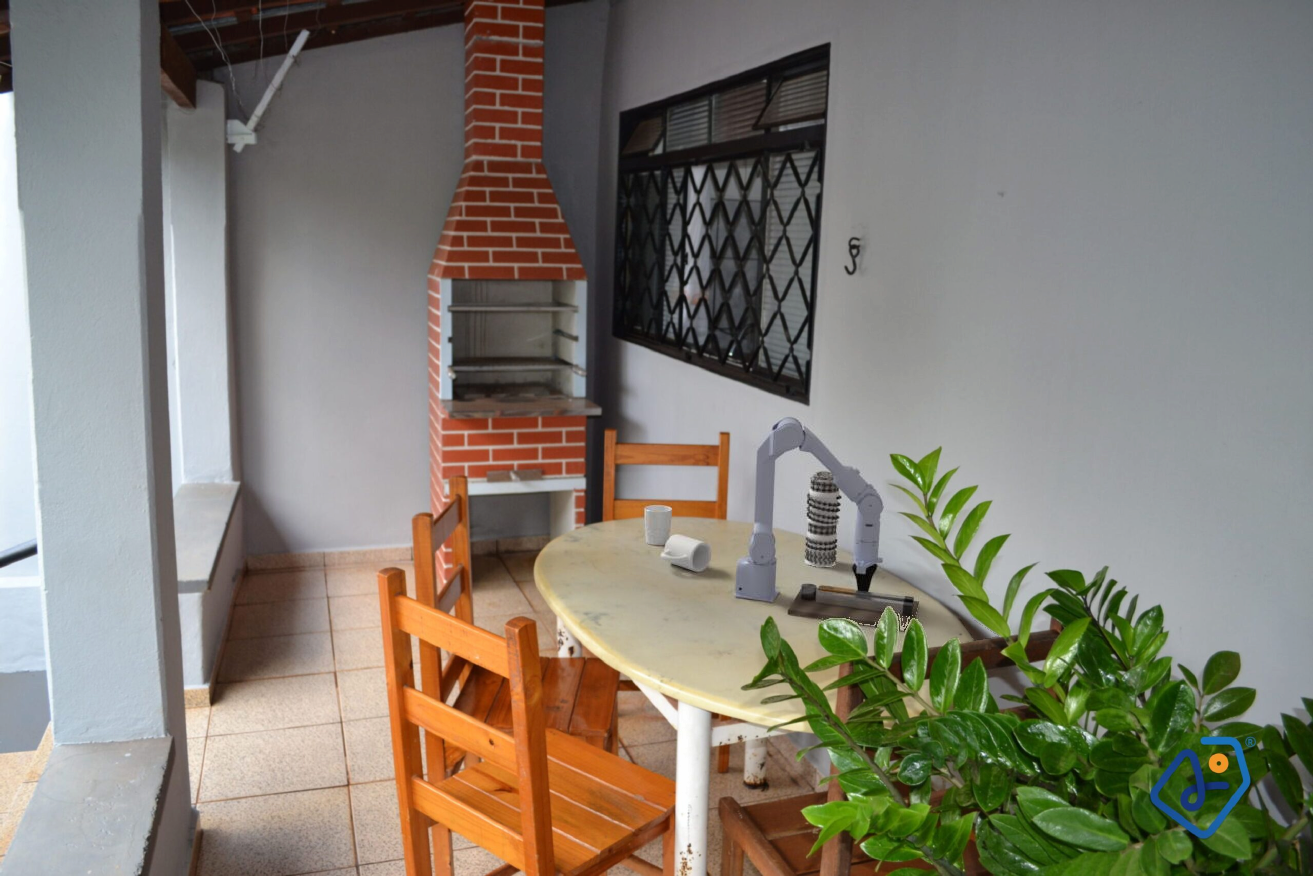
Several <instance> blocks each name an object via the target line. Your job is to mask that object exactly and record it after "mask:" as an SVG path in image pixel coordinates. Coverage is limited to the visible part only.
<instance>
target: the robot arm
mask: <svg viewBox="0 0 1313 876" xmlns="http://www.w3.org/2000/svg"><path fill="white" fill-rule="evenodd" d="M802 425H803V424H802V423H801V422H800V420H799V419H797V418H796V417H793V416H786V417H784V418H782V419H780V420H778V421H777V422H775V423H774V424H773V425H772V427H771V428H770V430H769V431H768V432H767V434H766V435H765V437H764V438H763V439H762V441H761V442H760V444H759V445H758V446H757V449H756V467H755V469H756V470H755V491H754V493H755V494H754V495H755V496H754V518H753V532H752V533H751V535H750V537H749V547H748V555H746V556H747V557H739V559H738V560H737V565H736V571H735V590H734V597H736V598H742V599H747V600H748V599H749V600H756V601H763V602H769V603H770V602H771V603H773V602H774V601H775V599H776V598H777V596H778V595H779V594H780V590H779V589H776V580H777V579H776V578H777V562H778V561H777V560H778V559H777V557H776V553H777V550H776V537H775V535H774V533H773V521H774V518H773V517H774V500H775V499H774V498H775V473H776V472H775V471H776V470H775V469H776V460H777V459H778V458H780V457H781V456H782V455H783V454H785V453H787V452H790V451H793V450H795V449H797V448H799V449H798V450H799V452H805V453H810V454H812V456H813V457H815V459H817V461H819V462H820V463H821V464H822V465H823V466H824V467H825V468H826V469H827V470H828V472H831V473H832V474H833V475H834V479H833V482H834V484H835V485H836V486H837V487H838V488H839V491H841V492H842V493H843V494H844V495H845V496H846V497H847V499H849V501H850V502H852V503H855V505H856V507H857V511H856V513H857V514H856V519H855V527H854V528H855V529H854V542H853V543H854V544H853V555H852V561H853V564H852V566H851V570H852V572H853V574H854V577H855V580H856V587H857V589H856V590H858V591H866V592H870V588H871V584H872V579H873V578H874V577H873V576H874V574H875V573H876V571H877V570H878V567H879V565H878V564H882V563H883V560H884V559H883V558H882V557H879V546H880V532H881V520H880V519H881V514H882V513H883V511H884V503H883V500H882V497H881V496H880V493H879V492H878V491H877V488H875V487H874V485H873V484H872V483H868V482H867V481H866V480H865V479H864V478H863V477H862V476H861V471H860V470H859V469H858V468H857V467H856V468H854V467H853V466H851V465H844V464H842V463H841V461H839V460H838V458H837V457H836V456H835V455H834V454H833V453H832V452H831V450H830V449H829V448H828V447H827V446H826V444H824V443H823V442H822V441H821V439H819V437H818V436H817V435H816V434H815V433H814V432H812V431H811V430H810V429H809V428H808V427H807V426H805V425H803V426H802Z"/></svg>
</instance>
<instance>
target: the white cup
mask: <svg viewBox="0 0 1313 876" xmlns="http://www.w3.org/2000/svg"><path fill="white" fill-rule="evenodd" d="M672 514H673V508H672V507H670V506H668V505H663V504H662V505H661V504H656V505H655V504H653V505H652V504H651V505H647V506H645V507H644V533H645V543H646V544H648V545H651V546H652V545H653V546H665V544H666V542H667V540H668V539H669V538H670V534H671V525H672Z"/></svg>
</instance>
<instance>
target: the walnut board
mask: <svg viewBox="0 0 1313 876" xmlns="http://www.w3.org/2000/svg"><path fill="white" fill-rule="evenodd" d="M818 588H819V587H817V588H816V592H817V591H818ZM919 604H920V601H918V600H914V602H913V611H912V615H913V616H910V619H908V624H909V622H910V620H911V619H912V618H915V619H916V618H917V614H916V612H917V613H918V611H917V608H918V609H919V607H918V605H919ZM882 613H883V612H879V611H872V610H865V609H858V608H851V607H844V606H837V605H830V604H823V603H816V599H813V600H806V599H803V598H801V589H800V590H799V592H798V593H797V595H796V596H795V598H794V599H793V601H792V602H791V604H790V606H789V607H788V608H787V615H790V616H798V617H805V618H812V619H817V620H825V621H827V620H826V619H829V618H846V619H850V620H853V621H855V622H857V623H858V624H859V623H862V624H863V625H862V626H864V624H870V625H874V624H875V622H876V625H875V627H874V628H878V627H877V624H878V621H879V619H880V618H881V615H882ZM915 615H916V616H915ZM897 616H898V621H899V632H901V631H900V620H899V615H898V614H897ZM902 616H903V617H902ZM849 617H850V618H849ZM908 617H909V616H907V617H906V615H900V618H901V626H902V625H903V623H904V626H903V627H905V624H906V622H907V618H908ZM822 618H823V619H822ZM902 618H903V621H902ZM859 626H861V625H860V624H859ZM907 626H908V625H907ZM907 626H906V628H907ZM906 628H905V629H904V631H903V632H905V630H906Z"/></svg>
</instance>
